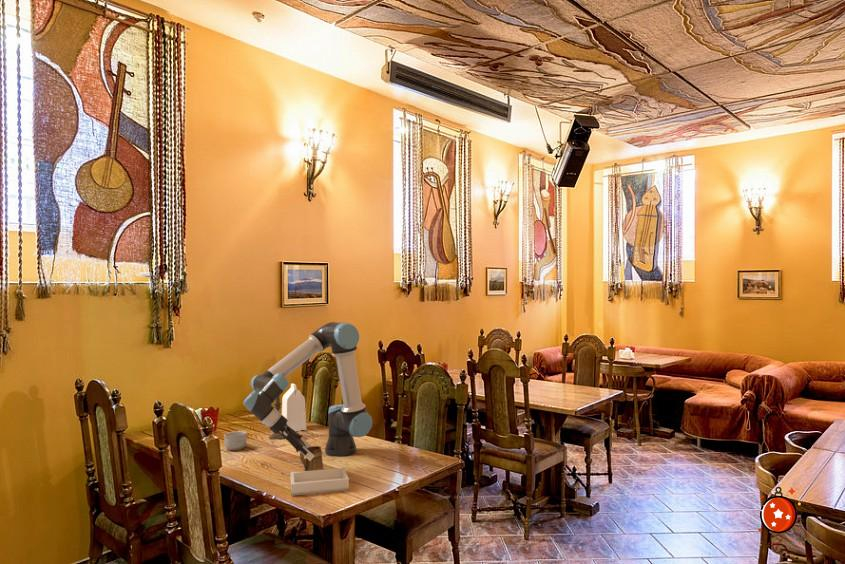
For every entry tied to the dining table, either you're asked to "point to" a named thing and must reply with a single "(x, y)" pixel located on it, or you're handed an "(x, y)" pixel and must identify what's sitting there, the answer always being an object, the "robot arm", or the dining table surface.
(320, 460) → the wooden mug
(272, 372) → the robot arm
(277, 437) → the candlestick holder
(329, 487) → the tray
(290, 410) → the milk
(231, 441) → the teacup
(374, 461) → the dining table surface
